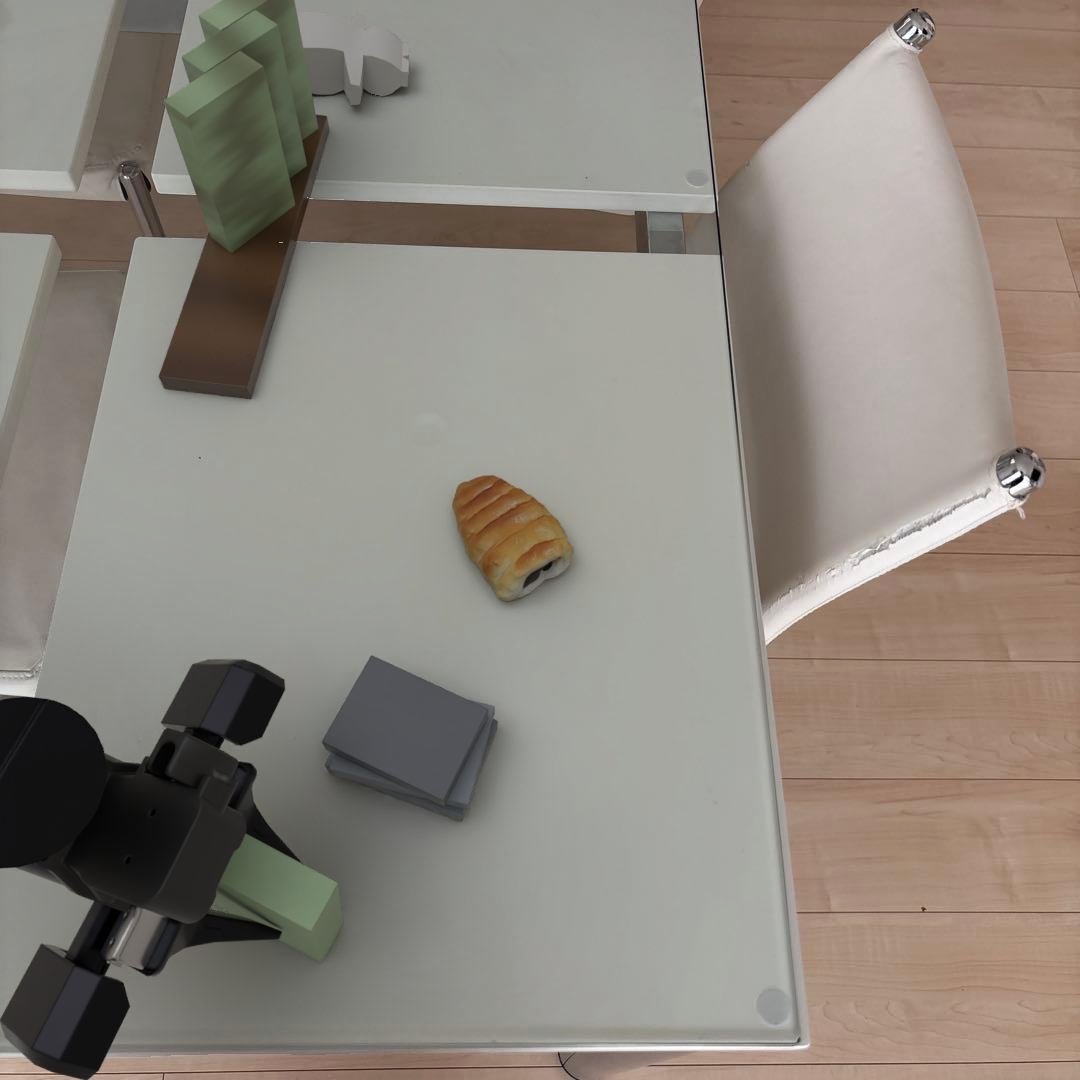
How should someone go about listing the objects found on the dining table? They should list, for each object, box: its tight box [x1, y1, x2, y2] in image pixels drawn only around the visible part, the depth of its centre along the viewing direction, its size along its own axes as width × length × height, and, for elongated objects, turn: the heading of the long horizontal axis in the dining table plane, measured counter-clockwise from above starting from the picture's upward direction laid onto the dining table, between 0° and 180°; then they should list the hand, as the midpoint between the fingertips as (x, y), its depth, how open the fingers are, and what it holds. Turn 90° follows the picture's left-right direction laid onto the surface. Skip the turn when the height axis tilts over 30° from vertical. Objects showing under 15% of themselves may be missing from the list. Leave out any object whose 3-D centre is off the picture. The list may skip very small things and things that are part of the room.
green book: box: [213, 833, 344, 964], centre depth 51 cm, size 7×2×13 cm, turn 64°
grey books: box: [321, 655, 498, 823], centre depth 59 cm, size 9×7×5 cm
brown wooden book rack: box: [158, 0, 330, 400], centre depth 72 cm, size 29×7×14 cm, turn 174°
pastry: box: [451, 474, 574, 602], centre depth 67 cm, size 9×7×4 cm
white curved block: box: [297, 10, 410, 106], centre depth 86 cm, size 10×5×15 cm
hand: (290, 903), depth 50 cm, fingers closed on green book, 3 cm apart
